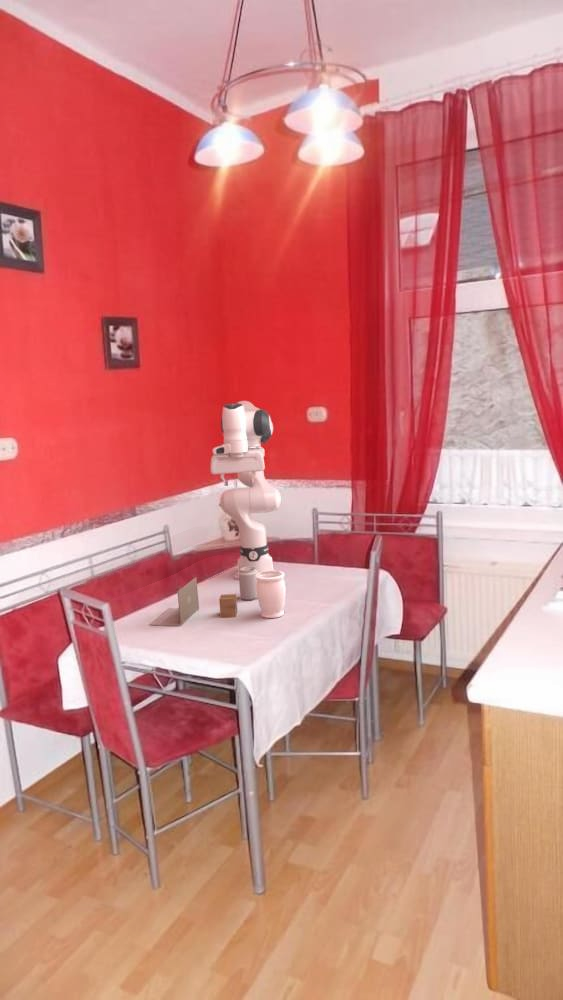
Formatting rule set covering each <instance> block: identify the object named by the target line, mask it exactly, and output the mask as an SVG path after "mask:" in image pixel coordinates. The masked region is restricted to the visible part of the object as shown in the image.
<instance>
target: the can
mask: <svg viewBox="0 0 563 1000" xmlns="http://www.w3.org/2000/svg"><path fill="white" fill-rule="evenodd" d="M240 570H241V571H240V572H239V579H238V581H239V583H238V584H239V593H240V594H239V596H240V598H241V599H242V600H243V601H254V600H258V597H257V579H256V575H257V574H258V571H257V570H256V568H255V567H244V568H241V569H240Z"/></svg>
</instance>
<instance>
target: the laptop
mask: <svg viewBox="0 0 563 1000" xmlns="http://www.w3.org/2000/svg"><path fill="white" fill-rule="evenodd" d="M197 580H198V579H197V576H195V577H194V578H193V579H191V580H190V581H188V583H186V584H185V585H184V586H182V587H181V588H180V589H179V590H177V601H178V607H168V608H167V609H165V611H163V612H162V613H160V614H159V615H158V616H157V617H156V618H154V619H153V620H152V621H151V622H150V623H149V624H148V625H149V626H150V625H151V626H161V627H162V626H163V627H183V625H184V624H185V623H187V622H188V621H189V620H190V619H191V618H192V617H194V615H195V614H196V613H198V611H199V610H200V604H199V603H200V601H199V591H198V582H197Z"/></svg>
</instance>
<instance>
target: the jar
mask: <svg viewBox="0 0 563 1000" xmlns="http://www.w3.org/2000/svg"><path fill="white" fill-rule="evenodd" d="M284 578H285V572H283V571H280V570H276V571H265V572H261V573H258V574H257V575H256V579H257V597H258V598H257V600H258V605H259V608H260V610H261V611H262V612H261V613H260V616H261V617H263V618H265V619H276V618H280V617H282V616H284V615H285V611H284V608H285V605H286V604H285V603H286V593H287V592H286V583H285V579H284Z"/></svg>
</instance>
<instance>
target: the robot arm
mask: <svg viewBox="0 0 563 1000" xmlns="http://www.w3.org/2000/svg"><path fill="white" fill-rule="evenodd" d="M220 427H221V428H220V429H221V432H222V436H223V444H219V445H218V446H215V447H213V448H212V454H213V455H212V456H211V459H210V474H212V475H220V478H221V480H222V482H223V485H224V486H225V487H227V486H229V481H228V480H226V479H225V474H226V475H227V474H237V477H238V480H239V482H241V483H242V485H244V486H246V487H235V488H231V489H227V490H224V491H223V492H222V494H220V495H221V496H220V499H219V503H220V508H221V510H223V512H224V513H225V514H227V515H228V516H230V517H231V518H232V519H233V521H234V522H235V523H236V525H237V528H238V533H239V538H240V546H239V551H240V556H239V558H237V573H236V574H235V575H234V579H235V580H239V572H240V571H241V570H240V569H241V568H244V567H255V568H256V570H257V571H258V573H261V572H265V571H277V569H276V568H275V566H274V564H273V557H272V556H271V555H270V554H269V551H270V550H269V544H268V540H267V529H266V525H264V524H263V523H262V522H260V521H259V520H256V519H253V518H252V515H251V514H262V513H264V514H265V513H271V512H274V511H277V510H278V509H279V508H280V506H281V504H282V495H281V492H280V491H279V489H278V488H276V487H275V486H273V485H272V484H270V483H269V481H267V479H266V477H265V472H264V470H265V469H266V466H265V459H264V457H265V455H266V454H265V449H264V448H263V447H262V443H263V445H266V443H267V442H268V441H269V440H270V439H271V438H272V437H273V432H274V424H273V422H272V418H271V416H270V414H269V412H267V411H266V410H265V409H262V408H259V407H256V406H255V405H254V404H253V403H252V402H250V401H248V400H241V401H238V402H236V403H235V402H234V403H232V402H231V403H227V404H225V405H223V406H222V418H221V419H220Z"/></svg>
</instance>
